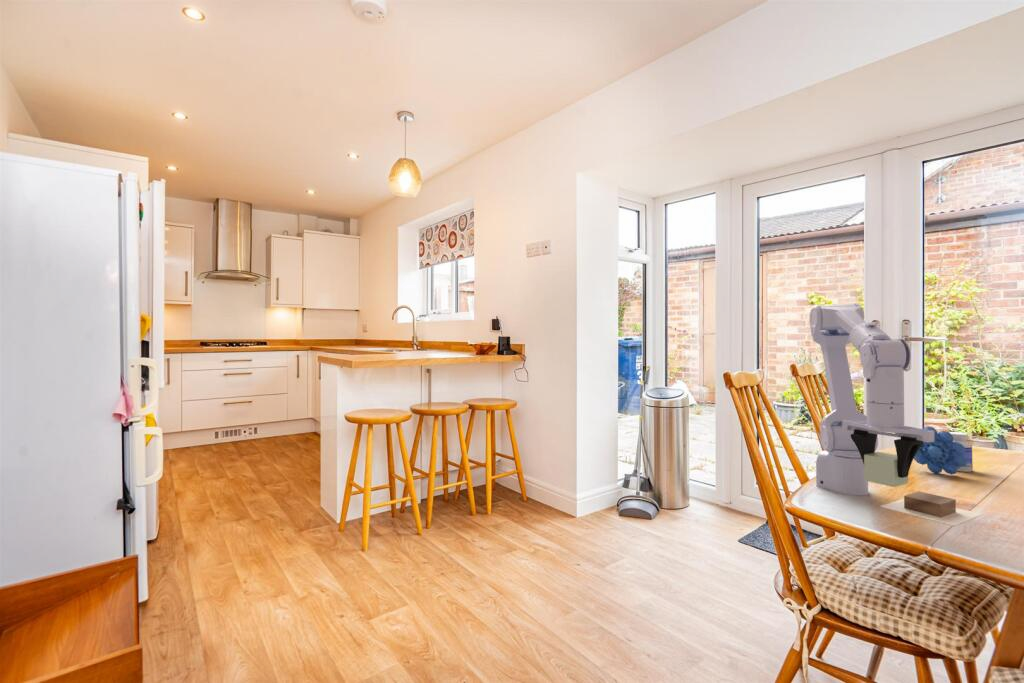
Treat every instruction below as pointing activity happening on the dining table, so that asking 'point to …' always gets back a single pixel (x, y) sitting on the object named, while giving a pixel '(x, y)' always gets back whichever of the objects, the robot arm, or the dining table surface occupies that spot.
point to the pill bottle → (967, 454)
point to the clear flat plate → (950, 519)
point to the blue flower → (941, 453)
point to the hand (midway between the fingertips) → (885, 473)
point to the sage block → (882, 469)
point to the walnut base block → (930, 504)
